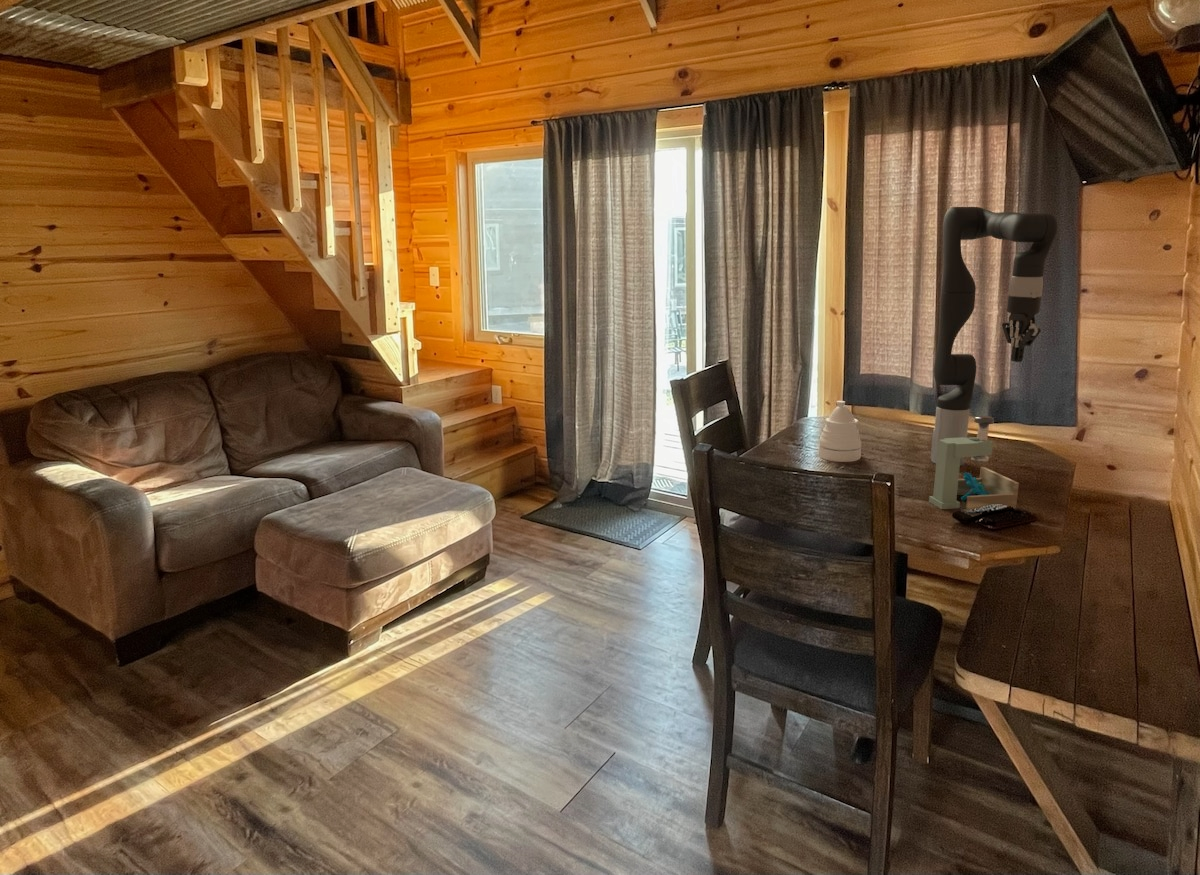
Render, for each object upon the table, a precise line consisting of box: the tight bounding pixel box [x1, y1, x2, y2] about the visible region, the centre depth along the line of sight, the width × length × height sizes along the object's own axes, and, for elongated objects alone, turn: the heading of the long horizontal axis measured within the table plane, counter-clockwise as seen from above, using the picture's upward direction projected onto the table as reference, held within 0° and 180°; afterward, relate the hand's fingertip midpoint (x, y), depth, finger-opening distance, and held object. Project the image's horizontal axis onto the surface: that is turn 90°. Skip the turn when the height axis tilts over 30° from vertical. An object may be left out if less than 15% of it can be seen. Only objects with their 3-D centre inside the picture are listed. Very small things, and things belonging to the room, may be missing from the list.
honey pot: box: [817, 400, 862, 463], centre depth 251 cm, size 13×13×18 cm
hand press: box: [928, 436, 994, 510], centre depth 206 cm, size 6×13×17 cm, turn 98°
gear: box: [960, 472, 989, 502], centre depth 210 cm, size 11×6×10 cm
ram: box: [970, 415, 995, 463], centre depth 204 cm, size 4×4×11 cm
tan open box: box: [957, 466, 1020, 511], centre depth 208 cm, size 14×13×7 cm
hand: (1016, 361), depth 209 cm, fingers closed
